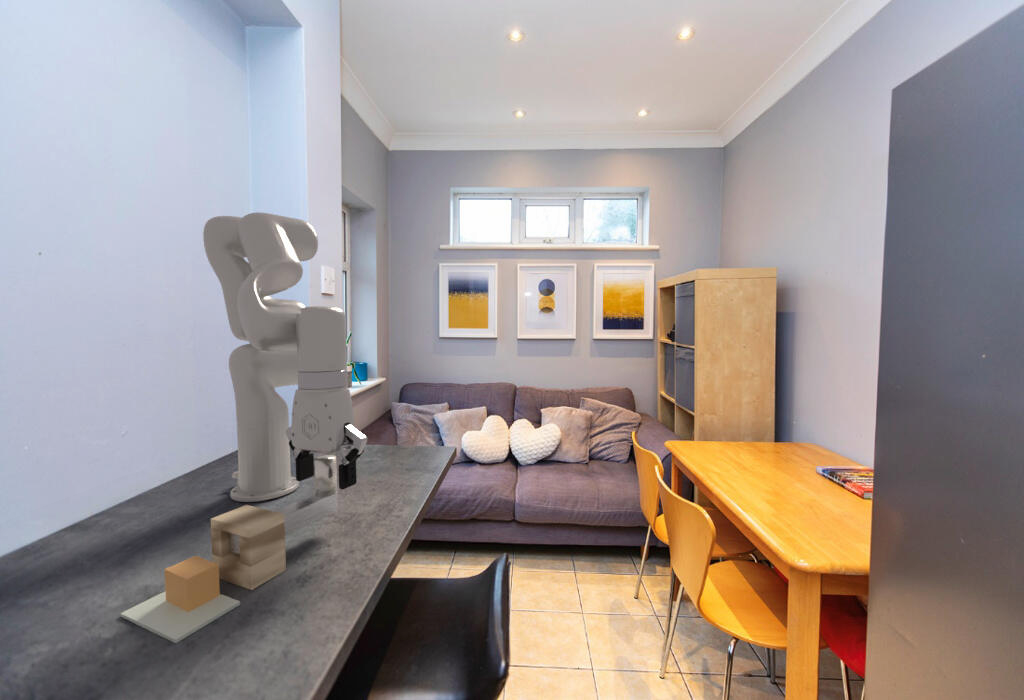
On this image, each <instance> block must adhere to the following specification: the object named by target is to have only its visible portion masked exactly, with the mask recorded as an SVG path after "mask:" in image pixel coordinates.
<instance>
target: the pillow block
mask: <svg viewBox="0 0 1024 700" xmlns="http://www.w3.org/2000/svg"><path fill="white" fill-rule="evenodd" d="M275 511H276V510H270V509H266V508H263V507H262V508H261V507H256V506H252V505H248V504H245V505H242V506H240V507H236V508H235V509H232V510H229V511H227V512H225V513H221V514H219V515H216V516H214V517H211V518H210V534H211V535H210V537H211V538H210V539H211V556H212V557H211V559H212V560H211V562H214V563H216V564H219V580H222V581H225V582H229V583H231V584H232V585H237V586H239V587H242V588H245V589H247V590H251V591H253V590H255V589H256V588H258V587H259V586H261V585H263V584H264V583H266V582H268V581H270V580H271V579H273V578H275V577H277V576H278V575H280V574H282V573H283V572H285V571H286V570H287V563H286V560H287V559H286V558H287V557H286V536H285V526H284V514H283V513H279V512H275ZM230 533H233V534H236V535H239V545H240V555H239V554H236V553H233V552H231V544H230Z"/></svg>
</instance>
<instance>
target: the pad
mask: <svg viewBox="0 0 1024 700" xmlns="http://www.w3.org/2000/svg"><path fill="white" fill-rule="evenodd" d="M240 605H241V601H240V600H237V599H235V598H232V597H230V596H227V595H224V594H221V593H220V596H218V597H216V598H214V599H212V600H210V601H208V602H206V603H205V604H203V605H201V606H199V607H197V608H195V609H193V610H191V611H190V612H187V611H185V610H183V609H181V608H179V607H177V606H175V605H173V604H172V603H170V602H168V601H166V592H165V591H163V592H161V593H158V594H157V595H154V596H153V597H151V598H149V599H147V600H145V601H143V602H140V603H138V604H137V605H134V606H132V607H130V608H129V609H126V610H124V611H123V612H120V617H121V618H123V619H125V620H127V621H129V622H131V623H133V624H135V625H137V626H139V627H141V628H143V629H145V630H147V631H149V632H151V633H153V634H155V635H157V636H160V637H161V638H163V639H166V640H168V641H170V642H172V643H174V644H177V643H180V642H181V641H182V640H184V639H186V638H188V637H189V636H191V635H192V634H194V633H196V632H197V631H199V630H200V629H203V628H204V627H205V626H207V625H209V624H210V623H212V622H214V621H215V620H217V619H219V618H221V617H222V616H224V615H225V614H227V613H229V612H231V611H232V610H234V609H235V608H237V607H238V606H239V607H240Z"/></svg>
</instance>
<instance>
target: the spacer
mask: <svg viewBox="0 0 1024 700" xmlns="http://www.w3.org/2000/svg"><path fill="white" fill-rule="evenodd" d="M164 586H165V587H164V592H166V601H168V602H170V603H172V604H173V605H175V606H177V607H179V608H181V609H183V610H185V611H187V612H190V611H191V610H193V609H195V608H197V607H199V606H201V605H203V604H205V603H206V602H208V601H210V600H212V599H214V598H216V597H218V596H220V594H221V593H220V579H219V564H216V563H214V562H212V560H209V559H205V558H203V557H200V556H198V555H194V556H192V557H189V558H187V559H185V560H182V561H179V562H178V563H176V564H174V565H171V566H169V567H166V568H164Z"/></svg>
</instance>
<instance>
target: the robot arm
mask: <svg viewBox="0 0 1024 700" xmlns="http://www.w3.org/2000/svg"><path fill="white" fill-rule="evenodd" d="M202 235H203V236H202V239H203V247H204V251H205V255H206V257H207V260H208V263H209V265H210V267H211V268H212V270H213V272H214V274H215V275H216V277H217V279H218V281H219V284H220V285H221V290H222V293H223V294H222V295H223V300H224V305H225V309H226V314H227V320H228V324H229V328H230V331H231V332H232V335H233V336H234V337H235V338H236V339H237V340H240V341H244V342H248V343H246V344H242V345H239V346H238V347H236V348H235V349H233V350H232V352H231V353H230V354H229V357H228V368H229V374H230V378H231V383H232V387H233V393H234V401H235V412H236V414H235V416H236V419H235V420H236V433H237V437H236V438H237V459H238V460H237V463H238V470H236V471H234V472H232V474H231V477H232V478H233V479H236V480H237V485H236V486H234V487H233V488H232V489H231V490H230V494H229V496H230V499H231V500H233V501H235V502H240V503H253V502H263V501H264V502H265V501H270V500H273V499H277V498H280V497H284V496H286V495H288V494H291V493H292V492H294V491H296V490H297V489H298V487H299V486H300V482H301V481H304V480H307V479H310V478H312V477H315V474H314V458H315V457H314V453H320V454H326V455H331V454H334V453H335V454H336V455H335V456H336V457H337V458H338V459H339V461H340V463H341V464H339V465H338V488H339V489H340V490H345V489H348V488H350V487H351V486H355V485H356V484H357V481H358V480H357V461H359V460H360V457H361V456H362V455H363V454H364V451H365V450H364V449H365V447H366V445H367V443H368V437H367V436H366V435H365V434H364V433H362V431H359V430H358V429H357V428H356V427H355V426H356V425H355V424H356V423H355V413H354V406H353V401H352V396H351V395H352V394H351V391H350V389H349V387H348V354H347V351H348V350H347V320H346V314H345V311H344V310H343V309H342V308H339V307H335V306H322V305H321V306H319V305H318V306H317V305H316V306H306V305H305V304H304V303H303V302H300V301H297V300H294V299H283V298H280V299H279V298H273V297H271V296H273V295H275V294H278V293H281V292H284V291H287V290H290V289H291V288H293V287H294V286H296V285H298V283H299V282H300V281H301V279H302V278H303V275H304V269H303V265H302V263H301V262H307V261H309V260H311V259H313V258H314V257H315V256H316V254H317V252H318V249H319V238H318V235H317V232H316V230H315V228H314V227H313V226H312V224H310V223H309V222H308V221H305V220H303V219H300V218H295V217H290V216H289V217H288V216H282V215H279V214H273V213H266V212H259V211H258V212H251V213H248V214H245V215H244V216H243V217H242V216H241V217H240V216H234V215H233V216H231V215H219V216H214V217H211V218H210V219H208V220H207V221H206V223H205V224H204V226H203V233H202ZM245 258H246V259H247V260H246V259H245ZM286 386H287V387H288V386H297V389H296V390H295V392H294V396H293V402H292V409H291V411H292V412H291V426H290V415H289V414H290V413H289V407H288V403H287V402H286V400H285V399H284V398H283V397H282V396H281V395H280V394H279V393H278V392H277V391H276V388H280V387H286ZM291 450H292V456H293V458H294V460H295V476H292V474H291V472H292V471H291ZM345 451H346V452H347V454H346V452H345ZM312 452H313V453H312Z"/></svg>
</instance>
